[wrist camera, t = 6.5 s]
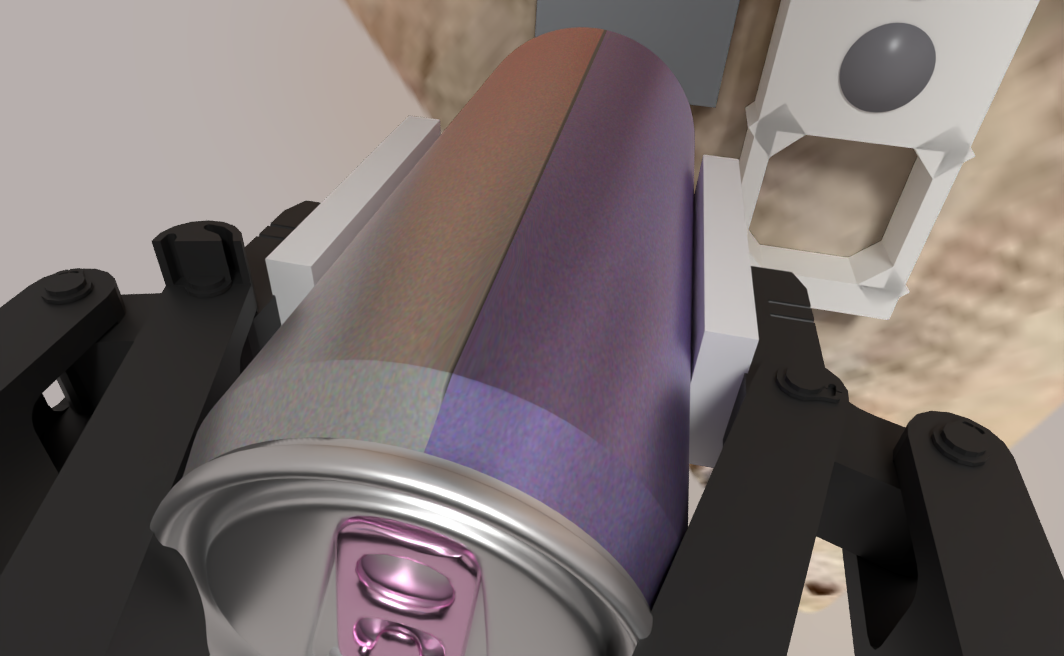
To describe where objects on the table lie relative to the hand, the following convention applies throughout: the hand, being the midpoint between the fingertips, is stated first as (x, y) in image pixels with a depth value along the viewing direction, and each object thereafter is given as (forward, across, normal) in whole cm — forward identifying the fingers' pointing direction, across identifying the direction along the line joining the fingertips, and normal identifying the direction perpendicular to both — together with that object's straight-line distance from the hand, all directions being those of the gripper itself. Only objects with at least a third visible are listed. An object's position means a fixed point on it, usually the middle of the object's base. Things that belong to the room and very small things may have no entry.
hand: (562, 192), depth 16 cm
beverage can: (+4, 0, 0) cm, 4 cm away
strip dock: (+23, +12, 0) cm, 26 cm away
